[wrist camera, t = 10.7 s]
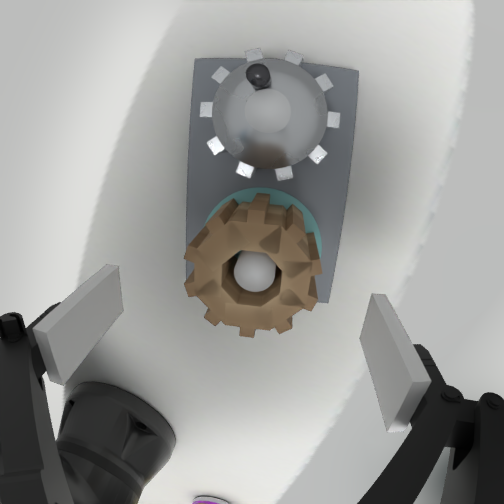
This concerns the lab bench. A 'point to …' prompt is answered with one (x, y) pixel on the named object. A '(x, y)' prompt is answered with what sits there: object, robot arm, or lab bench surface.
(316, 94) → the gear
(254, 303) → the oak gear
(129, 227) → the lab bench surface
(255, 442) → the lab bench surface
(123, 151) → the lab bench surface
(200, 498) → the supplement bottle
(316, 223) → the gear board
